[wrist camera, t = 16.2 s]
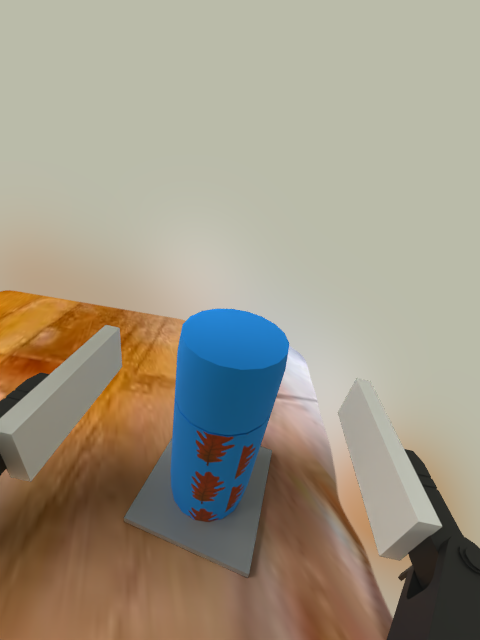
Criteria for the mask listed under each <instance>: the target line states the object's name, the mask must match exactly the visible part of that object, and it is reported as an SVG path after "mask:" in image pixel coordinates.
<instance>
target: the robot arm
mask: <svg viewBox="0 0 480 640" xmlns="http://www.w3.org/2000/svg"><path fill="white" fill-rule="evenodd" d="M121 367H122V358H121V343H120V328H118V327H113V326H108V325H105V326H104V327H103V328H102V329H101V330H100V331H98V332H97V333H96V334H95V335H94V336H93V337H92V338H90V339H89V340H88V341H87V342H86V343H85V344H84V345H83V346H81V347H80V348H79V349H78V350H77V351H76V352H75V353H73V354H72V355H71V356H70V357H69V358H68V359H67V360H66V361H64V362H63V363H62V364H61V365H60V366H59V367H58V368H57V369H55V370H54V371H53V372H52V373H51V374H45V373H39V374H37V375H35V376H33V377H31V378H29V379H27V380H26V381H24V382H23V383H22V384H21V385H20V386H18V387H17V388H16V390H15V391H12V392H11V393H10V394H9V395H7V396H6V398H5V399H3V400H1V401H0V475H1V474H2V473H3V472H4V470H5V469H7V471H8V473H9V475H10V477H11V478H16V479H21V480H25V481H30V482H31V481H32V480H33V478H34V477H35V476H36V475H37V473H38V472H39V471H40V469H41V468H42V467H43V466H44V464H45V463H46V462H47V461H48V459H49V458H50V457H51V456H52V454H53V453H54V452H55V451H56V449H57V448H58V447H59V446H60V444H61V443H62V442H63V440H64V439H65V438H66V437H67V435H68V434H69V433H70V432H71V430H72V429H73V428H74V427H75V425H76V424H77V423H78V422H79V420H80V419H81V418H82V416H83V415H84V414H85V413H86V411H87V410H88V409H89V408H90V406H91V405H92V404H93V403H94V401H95V400H96V399H97V398H98V396H99V395H100V394H101V393H102V391H103V390H104V389H105V387H106V386H107V385H108V384H109V382H110V381H111V380H112V379H113V377H114V376H115V375H116V374H117V372H118V371H119V370H120V369H121ZM338 415H339V418H340V422H341V425H342V429H343V432H344V436H345V439H346V442H347V446H348V449H349V453H350V456H351V460H352V463H353V467H354V470H355V473H356V477H357V480H358V484H359V487H360V491H361V494H362V498H363V501H364V505H365V508H366V512H367V515H368V519H369V522H370V525H371V529H372V532H373V536H374V539H375V543H376V546H377V549H378V553H379V556H381V557H386V558H391V559H395V560H401V559H402V558H404V557H405V556H406V555H407V554H409V557H410V560H411V562H412V566H411V567H409V568H408V569H407V570H405V571H404V572H403V573H401V574H400V576H399V577H398V578H399V579H400V580H401V581H402V580H403V579H404V578H406V580H405V583H404V586H403V589H402V593H401V596H400V599H399V602H398V605H397V609H396V612H395V615H394V618H393V622H392V625H391V628H390V631H389V634H388V638H387V640H480V548H478V546H477V545H475V544H474V543H473V542H471V541H470V540H468V539H467V538H465V537H464V536H463V535H462V533H461V531H460V530H459V528H458V526H457V524H456V522H455V520H454V518H453V517H452V515H451V513H450V511H449V509H448V507H447V506H446V504H445V502H444V500H443V498H442V496H441V494H440V492H439V491H438V490H437V487H436V485H435V483H434V481H433V480H432V479H431V476H430V474H429V472H428V470H427V468H426V467H425V465H424V463H423V462H422V461H421V460H420V458H419V457H418V456H417V455H416V454H415V453H414V452H413V451H410V450H406V449H404V448H403V446H402V444H401V442H400V440H399V438H398V436H397V434H396V432H395V430H394V428H393V426H392V424H391V422H390V420H389V418H388V416H387V413H386V412H385V410H384V408H383V405H382V403H381V401H380V399H379V397H378V395H377V393H376V391H375V389H374V387H373V385H372V383H371V381H368V380H362V379H358V378H356V380H355V382H354V384H353V386H352V387H351V389H350V391H349V393H348V395H347V397H346V399H345V401H344V402H343V404H342V406H341V408H340V410H339V411H338Z"/></svg>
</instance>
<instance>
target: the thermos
mask: <svg viewBox="0 0 480 640" xmlns="http://www.w3.org/2000/svg"><path fill="white" fill-rule="evenodd" d="M288 348H289V342H288V340H287V338H286V336H285V333H284V332H283V331H282V330H281V329H279V328H278V327H277V326H276V325H275V324H274V323H272V322H270V321H268V320H267V319H265V318H263V317H261V316H258V315H255V314H252V313H250V312H246V311H240V310H235V309H212V310H206V311H202V312H199V313H197V314H195V315H192V316H190V317H189V319H188V320H187V321H186V322H185V323H184V324H183V326H182V331H181V336H180V341H179V346H178V355H177V371H176V388H175V405H174V422H173V438H172V455H171V488H172V492H173V497H174V501H175V502H176V504H177V505H178V506H179V508H180V509H181V511H182V512H183V513H184V514H186V515H188V516H189V517H191V518H192V519H194V520H198V521H204V522H212V521H216V520H220V519H223V518H224V517H226V516H227V515H228V514H230V513H231V512H233V511H234V510H235V508H236V507H237V505H238V503H239V502H240V500H241V499H242V496H243V494H244V492H245V490H246V487H247V485H248V482H249V479H250V476H251V473H252V470H253V467H254V464H255V461H256V458H257V455H258V452H259V449H260V445H261V442H262V439H263V436H264V433H265V430H266V427H267V424H268V421H269V418H270V414H271V412H272V408H273V405H274V402H275V399H276V396H277V393H278V390H279V387H280V384H281V381H282V378H283V375H284V371H285V367H286V361H287V355H288Z"/></svg>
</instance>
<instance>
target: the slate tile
mask: <svg viewBox="0 0 480 640" xmlns="http://www.w3.org/2000/svg"><path fill="white" fill-rule="evenodd" d="M172 438H173V437H172ZM271 454H272V450H269V449H267V448H264V447H261V446H260V449H259V452H258V455H257V458H256V461H255V464H254V467H253V470H252V473H251V476H250V479H249V482H248V485H247V487H246V490H245V492H244V494H243V496H242V499H241V500H240V502H239V503H238V505H237V507H236V508H235V510H234V511H233V512H231V513H230V514H228V515H227V516H226V517H224V518H223V519H220V520H216V521H212V522H204V521H198V520H194V519H192V518H191V517H189V516H188V515H186V514H184V513H183V512H182V511H181V509H180V508H179V506H178V505H177V504H176V502H175V501H174V497H173V492H172V488H171V455H172V439H171V441H170V442H169V444H168V446H167V447H166V449H165V451H164V452H163V454H162V456H161V457H160V459H159V460H158V462H157V464H156V465H155V467H154V469H153V470H152V472H151V474H150V475H149V477H148V479H147V480H146V482H145V484H144V485H143V487H142V489H141V490H140V492H139V494H138V495H137V497H136V498H135V500H134V502H133V503H132V505H131V507H130V508H129V510H128V512H127V513H126V515H125V517H124V522H126V523H128V524H131V525H133V526H135V527H137V528H139V529H141V530H144V531H146V532H148V533H150V534H152V535H155V536H157V537H159V538H161V539H163V540H165V541H168V542H170V543H172V544H174V545H176V546H179V547H181V548H183V549H185V550H187V551H189V552H192V553H194V554H196V555H198V556H200V557H203V558H205V559H207V560H209V561H211V562H213V563H216V564H218V565H220V566H222V567H224V568H227V569H229V570H231V571H233V572H235V573H237V574H240V575H242V576H244V577H246V578H248V576H249V572H250V567H251V561H252V556H253V550H254V545H255V540H256V534H257V529H258V524H259V518H260V513H261V507H262V502H263V497H264V491H265V486H266V481H267V475H268V470H269V464H270V459H271Z"/></svg>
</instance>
